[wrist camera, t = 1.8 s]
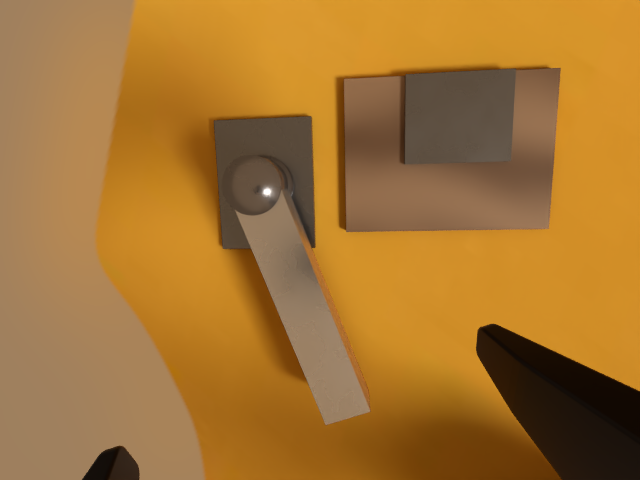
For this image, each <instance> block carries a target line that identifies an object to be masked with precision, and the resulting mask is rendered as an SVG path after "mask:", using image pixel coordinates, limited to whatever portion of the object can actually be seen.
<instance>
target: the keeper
mask: <svg viewBox="0 0 640 480" xmlns="http://www.w3.org/2000/svg"><path fill="white" fill-rule="evenodd" d="M515 80H516V69H499V70H480V71H460V72H441V73H421V74H406V75H405V124H404V165H406V164H439V163H471V162H504V161H511V152H512V134H513V116H514V98H515Z"/></svg>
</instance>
